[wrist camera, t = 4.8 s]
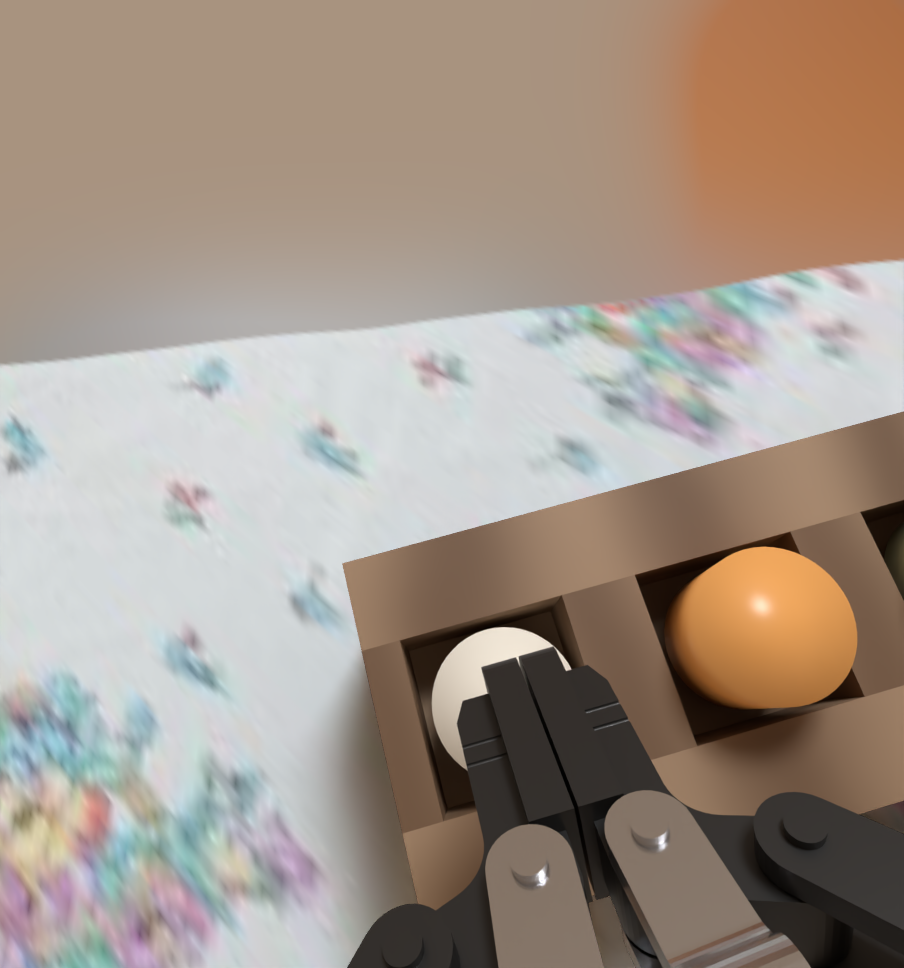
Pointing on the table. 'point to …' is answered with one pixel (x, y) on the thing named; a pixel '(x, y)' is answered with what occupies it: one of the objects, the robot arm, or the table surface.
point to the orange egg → (761, 631)
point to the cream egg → (475, 676)
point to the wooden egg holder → (649, 633)
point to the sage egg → (896, 557)
